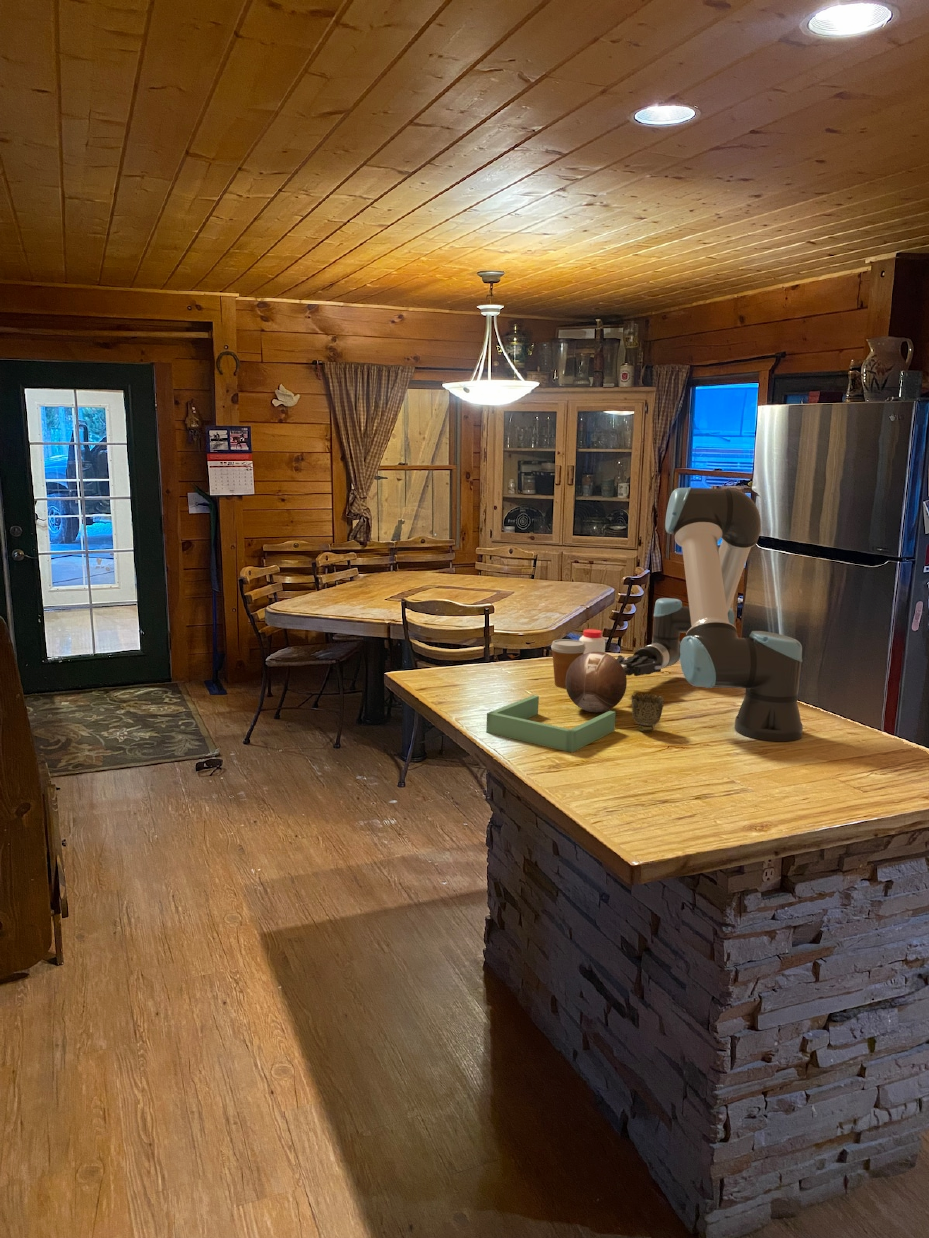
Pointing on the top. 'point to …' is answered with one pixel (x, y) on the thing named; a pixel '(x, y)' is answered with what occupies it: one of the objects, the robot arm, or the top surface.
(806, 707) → the top surface
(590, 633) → the pill bottle
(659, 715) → the cup
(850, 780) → the top surface
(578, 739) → the green bracket
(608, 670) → the wooden sphere
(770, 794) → the top surface
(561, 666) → the disposable coffee cup
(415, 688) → the top surface
